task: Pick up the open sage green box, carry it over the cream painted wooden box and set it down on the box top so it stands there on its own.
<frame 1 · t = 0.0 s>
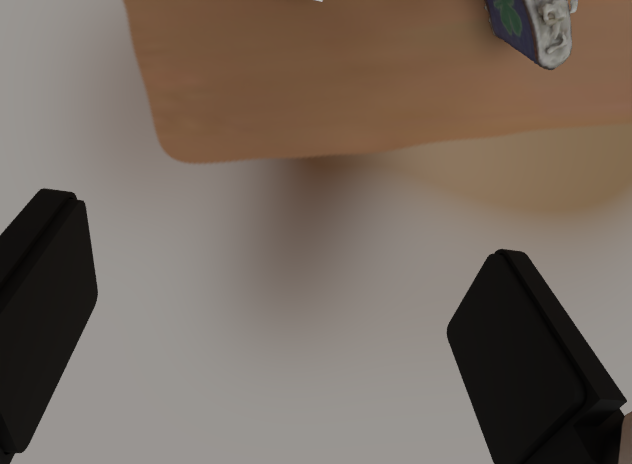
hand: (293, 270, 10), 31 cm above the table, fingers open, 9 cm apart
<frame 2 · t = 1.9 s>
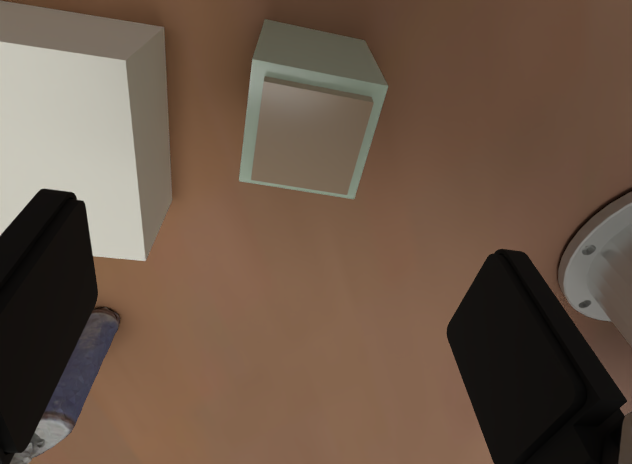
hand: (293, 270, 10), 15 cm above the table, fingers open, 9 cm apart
flask: (79, 333, 34), on the table
cream box: (74, 110, 23), on the table
open sage green box: (306, 80, 22), on the table
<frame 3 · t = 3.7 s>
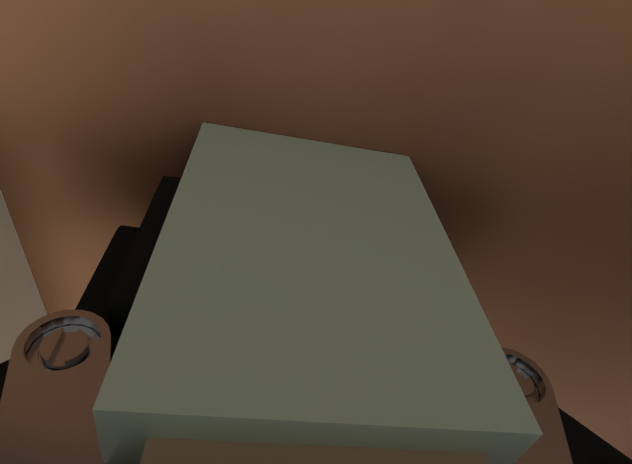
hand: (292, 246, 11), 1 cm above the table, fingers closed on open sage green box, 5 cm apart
open sage green box: (292, 223, 12), on the table, touching gripper
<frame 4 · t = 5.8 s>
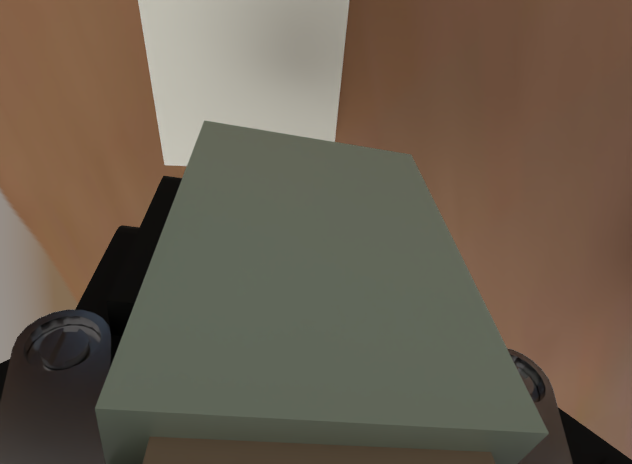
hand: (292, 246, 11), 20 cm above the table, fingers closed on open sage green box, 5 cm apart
cream box: (256, 55, 28), on the table
open sage green box: (294, 222, 12), point 19 cm above the table, touching gripper
when the fingers open (7 cm above the table, at t = 7.9 s): open sage green box stays where it is, point 6 cm above the table.
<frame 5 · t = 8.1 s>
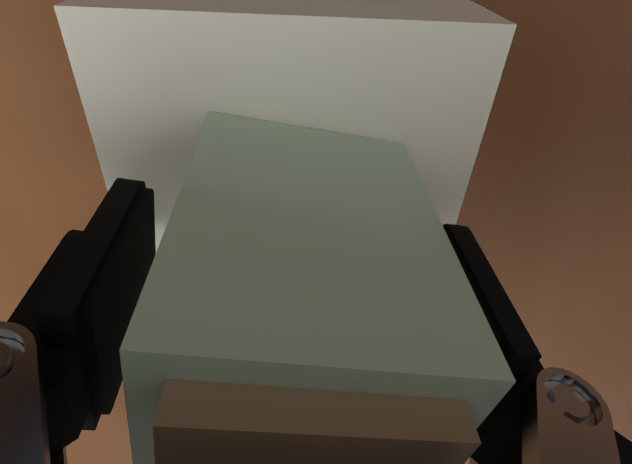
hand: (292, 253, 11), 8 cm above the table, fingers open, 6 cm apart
cream box: (290, 122, 17), on the table
open sage green box: (293, 208, 12), point 6 cm above the table
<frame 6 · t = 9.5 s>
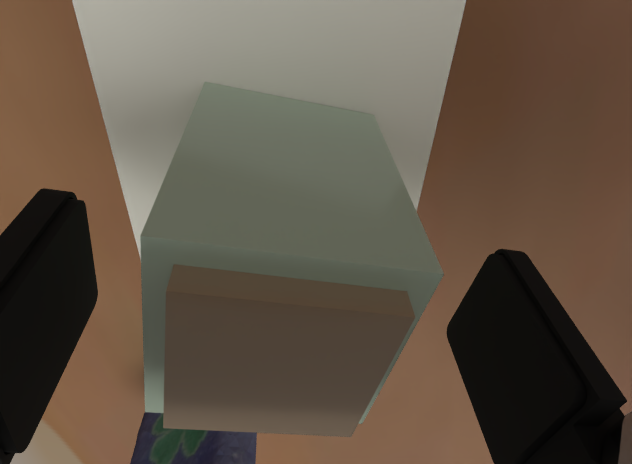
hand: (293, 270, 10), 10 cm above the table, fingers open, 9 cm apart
flask: (206, 361, 29), on the table
cream box: (276, 99, 19), on the table
open sage green box: (278, 172, 14), point 6 cm above the table
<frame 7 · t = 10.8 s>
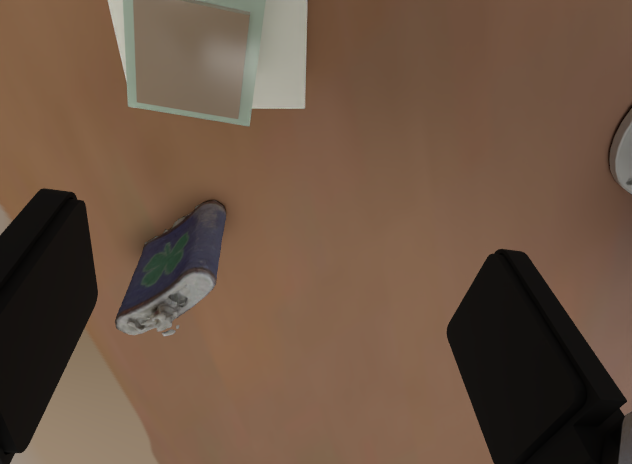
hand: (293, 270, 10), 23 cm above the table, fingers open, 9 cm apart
flask: (185, 230, 38), on the table
open sage green box: (212, 17, 22), point 6 cm above the table, touching cream box
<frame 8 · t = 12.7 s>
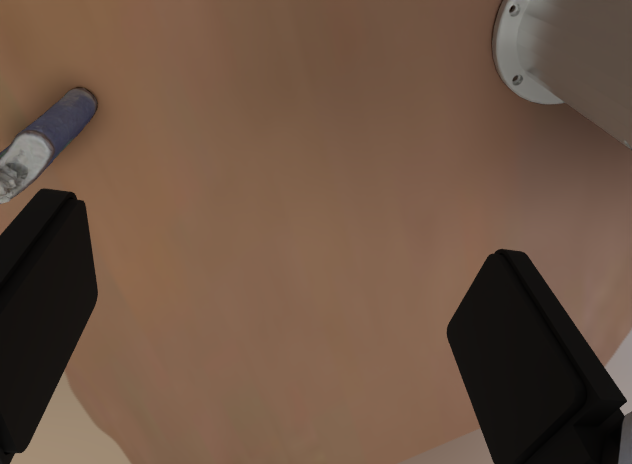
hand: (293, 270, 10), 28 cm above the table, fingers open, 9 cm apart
flask: (59, 124, 37), on the table
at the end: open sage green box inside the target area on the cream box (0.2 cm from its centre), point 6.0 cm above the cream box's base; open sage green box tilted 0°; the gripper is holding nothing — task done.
